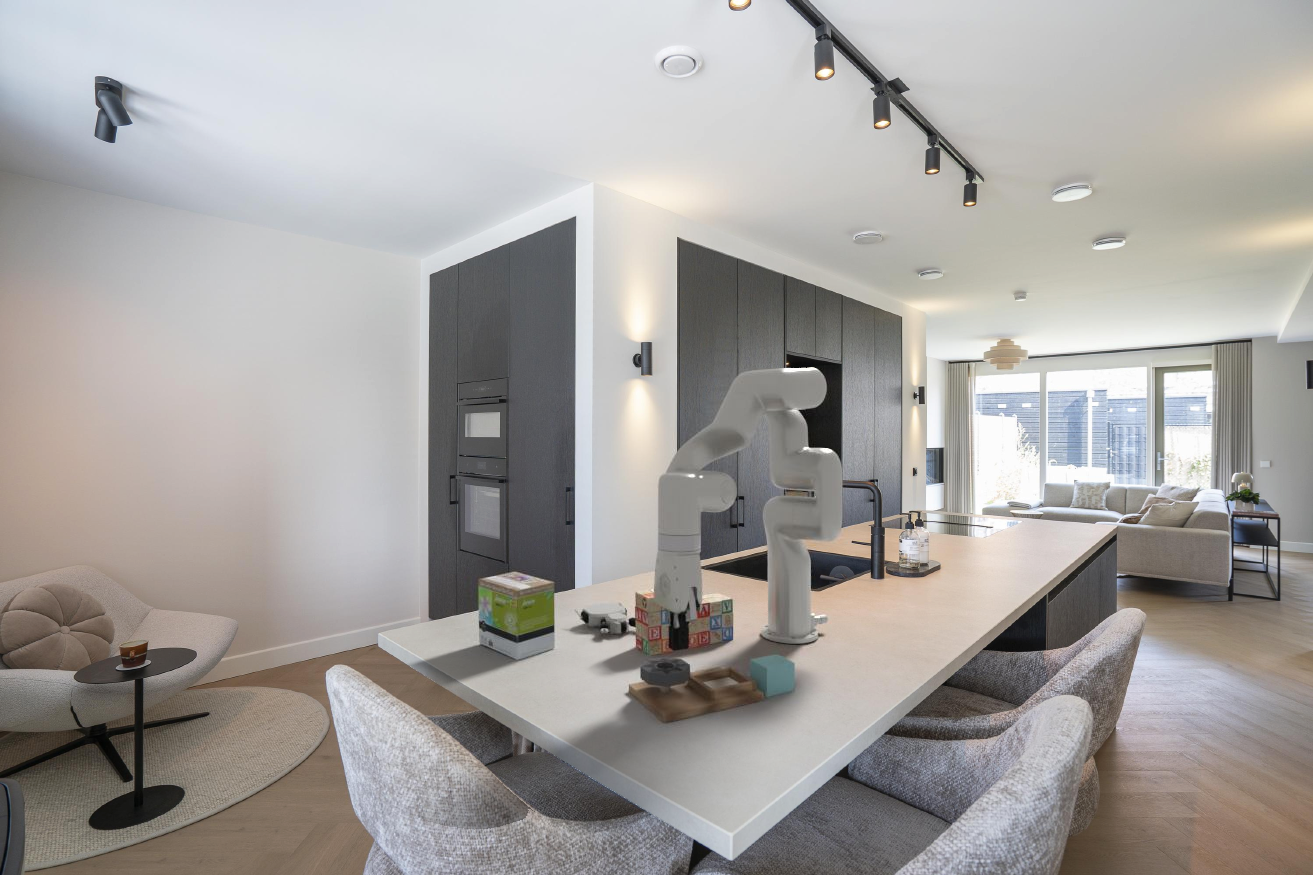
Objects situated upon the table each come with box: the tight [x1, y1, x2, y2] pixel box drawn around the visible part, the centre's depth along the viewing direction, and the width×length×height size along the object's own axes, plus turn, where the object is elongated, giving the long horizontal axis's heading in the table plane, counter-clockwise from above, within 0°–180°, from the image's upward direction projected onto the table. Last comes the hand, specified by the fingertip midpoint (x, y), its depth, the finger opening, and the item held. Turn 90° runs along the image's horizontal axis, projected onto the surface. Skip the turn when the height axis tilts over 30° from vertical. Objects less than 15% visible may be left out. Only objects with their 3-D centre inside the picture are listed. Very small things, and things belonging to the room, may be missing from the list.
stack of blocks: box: [634, 588, 734, 656], centre depth 139 cm, size 21×6×12 cm, turn 118°
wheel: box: [639, 656, 691, 687], centre depth 110 cm, size 8×8×2 cm
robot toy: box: [574, 601, 636, 635], centre depth 150 cm, size 12×4×15 cm
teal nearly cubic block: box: [749, 653, 796, 698], centre depth 114 cm, size 6×5×5 cm
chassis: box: [628, 666, 764, 724], centre depth 111 cm, size 19×14×4 cm
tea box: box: [477, 571, 556, 661], centre depth 137 cm, size 15×10×15 cm, turn 47°
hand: (678, 648), depth 111 cm, fingers closed
